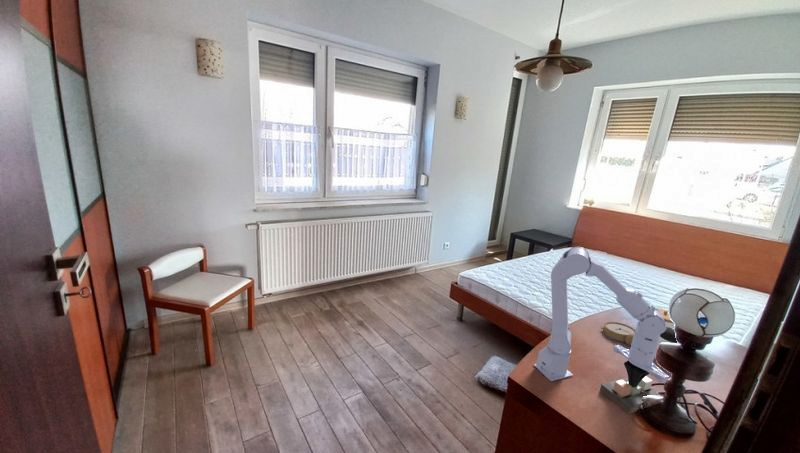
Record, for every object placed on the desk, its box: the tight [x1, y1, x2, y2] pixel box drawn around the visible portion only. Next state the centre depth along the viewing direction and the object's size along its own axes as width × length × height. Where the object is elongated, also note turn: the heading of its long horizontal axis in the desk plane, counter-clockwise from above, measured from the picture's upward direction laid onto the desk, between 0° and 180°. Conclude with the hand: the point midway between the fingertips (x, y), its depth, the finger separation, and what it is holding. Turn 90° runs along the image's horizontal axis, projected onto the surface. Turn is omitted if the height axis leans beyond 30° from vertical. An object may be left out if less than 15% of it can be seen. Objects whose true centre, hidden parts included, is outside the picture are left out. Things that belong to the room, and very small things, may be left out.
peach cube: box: [613, 379, 632, 397], centre depth 92 cm, size 3×3×3 cm
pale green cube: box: [626, 382, 641, 396], centre depth 94 cm, size 3×3×3 cm
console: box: [599, 376, 661, 415], centre depth 95 cm, size 14×9×3 cm, turn 108°
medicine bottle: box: [654, 327, 677, 359], centre depth 113 cm, size 7×7×12 cm
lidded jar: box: [656, 307, 674, 329], centre depth 132 cm, size 11×11×9 cm
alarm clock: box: [600, 321, 636, 346], centre depth 126 cm, size 11×5×15 cm
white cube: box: [638, 375, 653, 391], centre depth 95 cm, size 3×3×3 cm
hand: (632, 385), depth 94 cm, fingers closed, pressing on pale green cube
